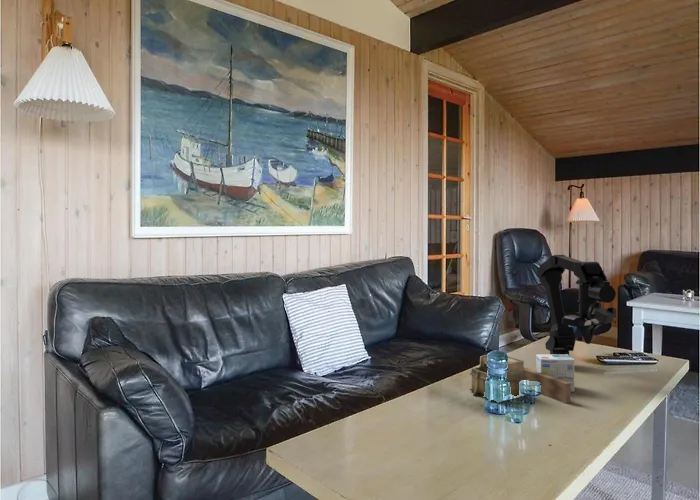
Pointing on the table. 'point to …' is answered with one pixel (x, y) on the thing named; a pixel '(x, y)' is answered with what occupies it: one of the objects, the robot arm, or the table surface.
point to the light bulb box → (556, 367)
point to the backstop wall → (550, 385)
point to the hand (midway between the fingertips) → (588, 343)
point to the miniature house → (513, 375)
